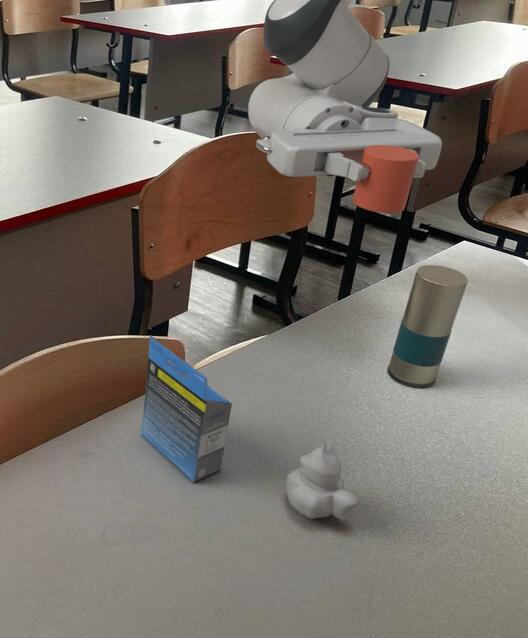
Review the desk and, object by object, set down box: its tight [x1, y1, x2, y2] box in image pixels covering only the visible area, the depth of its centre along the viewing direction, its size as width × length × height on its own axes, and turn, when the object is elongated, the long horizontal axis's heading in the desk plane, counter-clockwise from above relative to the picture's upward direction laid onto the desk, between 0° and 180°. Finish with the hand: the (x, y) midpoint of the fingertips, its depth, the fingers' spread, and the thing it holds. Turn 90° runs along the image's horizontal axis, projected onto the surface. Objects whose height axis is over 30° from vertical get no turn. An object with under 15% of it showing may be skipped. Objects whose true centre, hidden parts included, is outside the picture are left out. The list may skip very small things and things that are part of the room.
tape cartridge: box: [140, 335, 233, 483], centre depth 75 cm, size 9×4×12 cm, turn 31°
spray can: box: [387, 264, 469, 389], centre depth 88 cm, size 5×5×14 cm
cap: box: [352, 145, 419, 214], centre depth 85 cm, size 6×6×6 cm
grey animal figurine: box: [285, 439, 359, 521], centre depth 69 cm, size 5×7×8 cm
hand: (392, 172), depth 83 cm, fingers closed on cap, 5 cm apart
